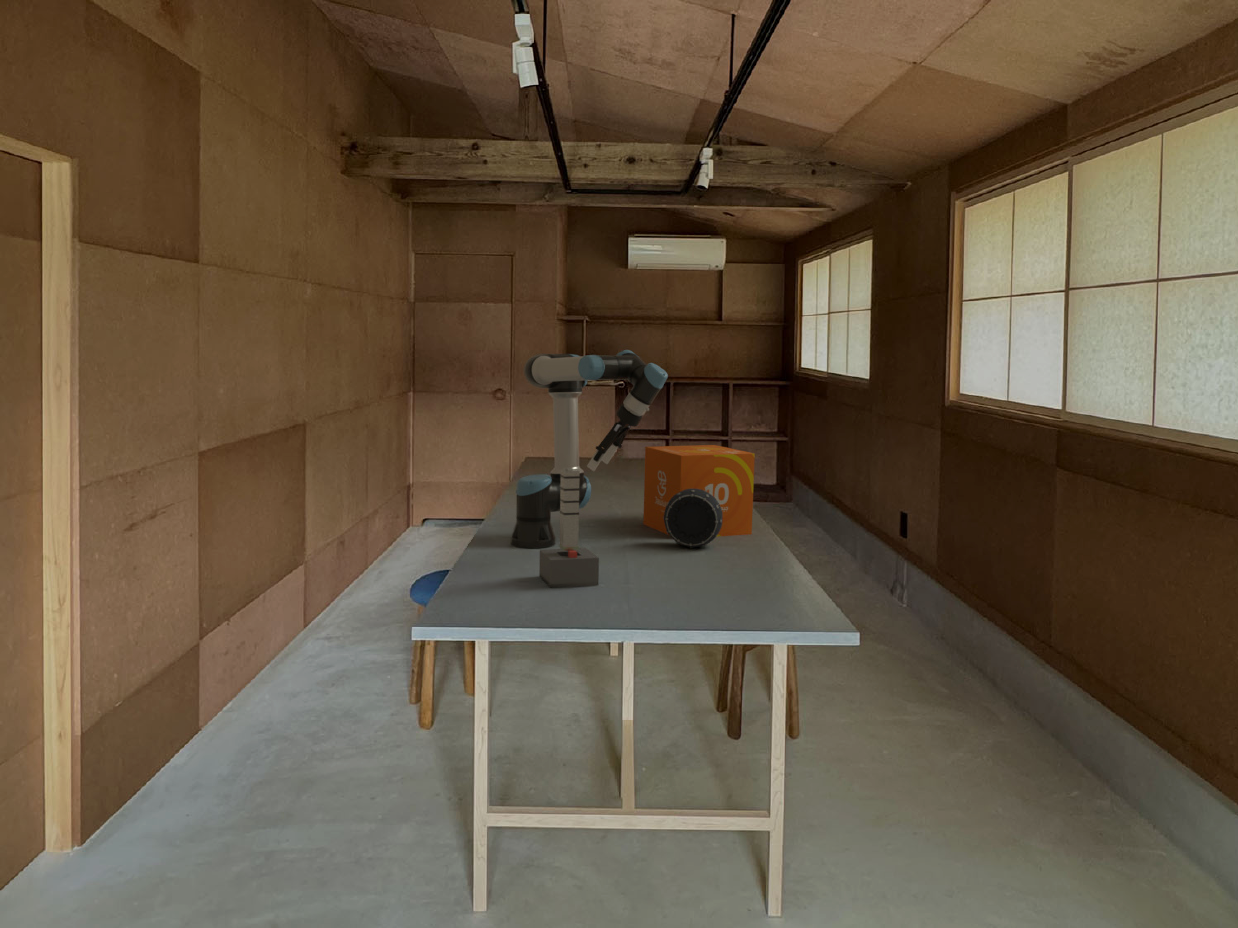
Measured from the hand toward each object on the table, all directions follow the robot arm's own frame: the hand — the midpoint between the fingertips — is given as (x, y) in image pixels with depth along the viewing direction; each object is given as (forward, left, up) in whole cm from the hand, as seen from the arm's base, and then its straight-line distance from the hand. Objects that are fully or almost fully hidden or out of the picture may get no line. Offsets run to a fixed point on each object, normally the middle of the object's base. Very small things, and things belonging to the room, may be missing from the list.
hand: (597, 465), depth 305 cm
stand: (-1, -29, -30) cm, 42 cm away
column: (-1, -29, -21) cm, 36 cm away
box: (+24, +62, -31) cm, 73 cm away
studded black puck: (+27, +30, -31) cm, 51 cm away
